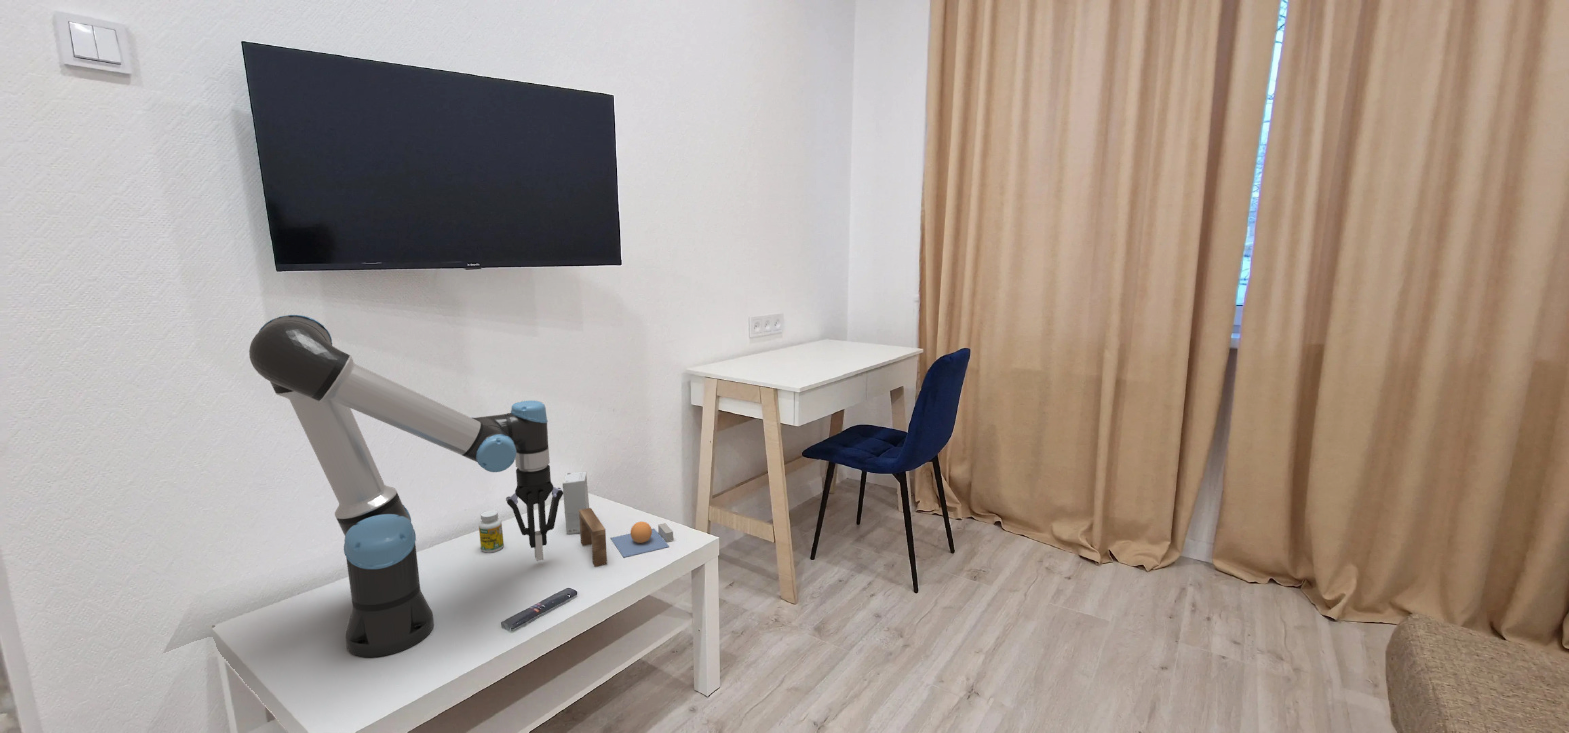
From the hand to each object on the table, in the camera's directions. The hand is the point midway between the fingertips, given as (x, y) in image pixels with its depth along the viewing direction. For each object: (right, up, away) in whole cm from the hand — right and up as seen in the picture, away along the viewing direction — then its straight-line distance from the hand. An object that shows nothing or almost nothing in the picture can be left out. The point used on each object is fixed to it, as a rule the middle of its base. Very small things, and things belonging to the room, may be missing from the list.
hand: (539, 558), depth 160 cm
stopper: (+28, +1, +16) cm, 32 cm away
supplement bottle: (-15, 0, +9) cm, 18 cm away
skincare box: (+3, +2, +21) cm, 22 cm away
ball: (+22, +3, +12) cm, 26 cm away
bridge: (+11, -1, +7) cm, 13 cm away
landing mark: (+22, 0, +13) cm, 25 cm away
